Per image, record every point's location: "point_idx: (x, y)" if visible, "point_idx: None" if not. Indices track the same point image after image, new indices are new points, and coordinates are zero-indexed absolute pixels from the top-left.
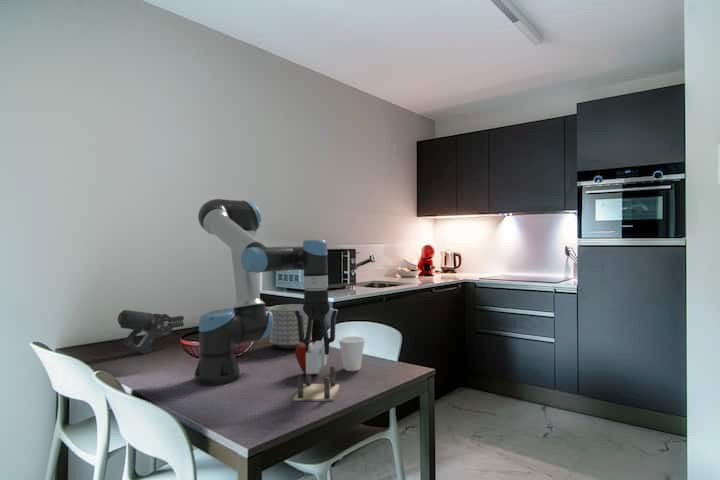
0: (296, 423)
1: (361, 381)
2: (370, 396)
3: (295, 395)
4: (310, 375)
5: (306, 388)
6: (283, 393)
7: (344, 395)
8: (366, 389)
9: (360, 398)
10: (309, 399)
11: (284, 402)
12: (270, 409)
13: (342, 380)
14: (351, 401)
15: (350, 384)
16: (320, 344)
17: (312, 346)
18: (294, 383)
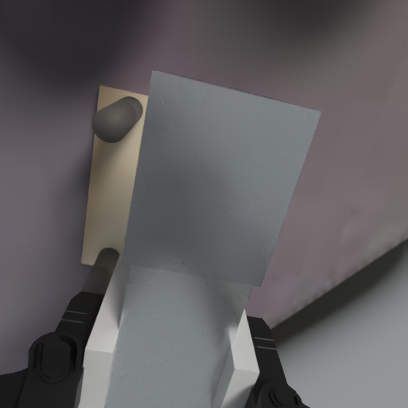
0: None
1: (404, 69)
2: (372, 258)
3: (84, 235)
4: (133, 125)
5: (123, 160)
6: (23, 178)
7: (281, 236)
8: (385, 186)
9: (331, 270)
10: None
11: (52, 271)
12: (18, 319)
13: (314, 31)
14: (294, 290)
15: (338, 107)
16: (202, 300)
17: (120, 365)
18: (45, 33)
